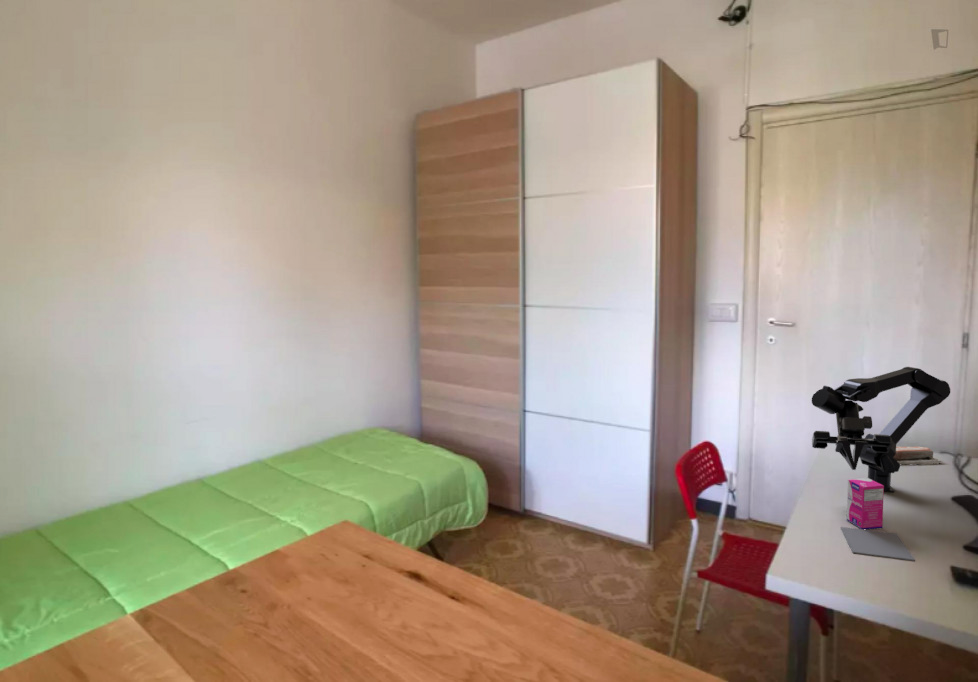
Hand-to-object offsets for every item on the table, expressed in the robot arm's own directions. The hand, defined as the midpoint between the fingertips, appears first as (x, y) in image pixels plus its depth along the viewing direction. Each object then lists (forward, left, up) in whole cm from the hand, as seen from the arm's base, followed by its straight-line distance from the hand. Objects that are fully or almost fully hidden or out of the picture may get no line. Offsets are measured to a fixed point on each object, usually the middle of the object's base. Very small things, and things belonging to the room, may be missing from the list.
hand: (854, 469), depth 157 cm
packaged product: (-50, +25, -12) cm, 57 cm away
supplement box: (+11, 0, -11) cm, 16 cm away
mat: (+22, 0, -11) cm, 25 cm away
